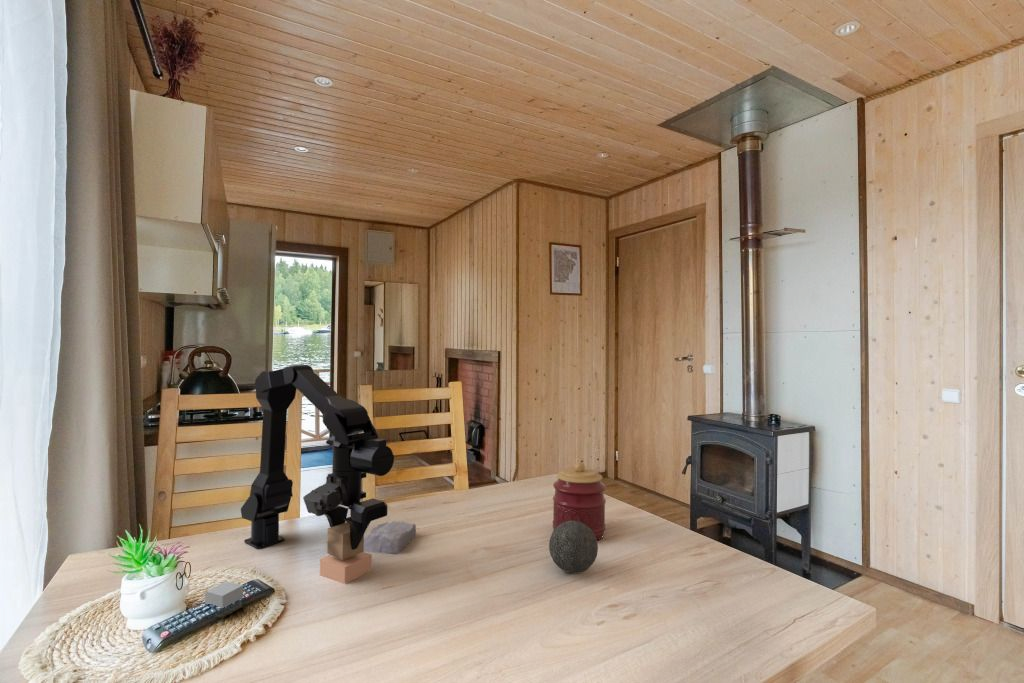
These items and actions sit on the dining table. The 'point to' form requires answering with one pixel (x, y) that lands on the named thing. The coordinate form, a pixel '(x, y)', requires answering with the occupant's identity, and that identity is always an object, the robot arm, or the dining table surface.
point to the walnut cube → (342, 542)
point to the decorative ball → (573, 546)
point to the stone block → (389, 537)
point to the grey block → (224, 594)
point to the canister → (580, 498)
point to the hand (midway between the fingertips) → (346, 545)
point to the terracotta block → (345, 567)
